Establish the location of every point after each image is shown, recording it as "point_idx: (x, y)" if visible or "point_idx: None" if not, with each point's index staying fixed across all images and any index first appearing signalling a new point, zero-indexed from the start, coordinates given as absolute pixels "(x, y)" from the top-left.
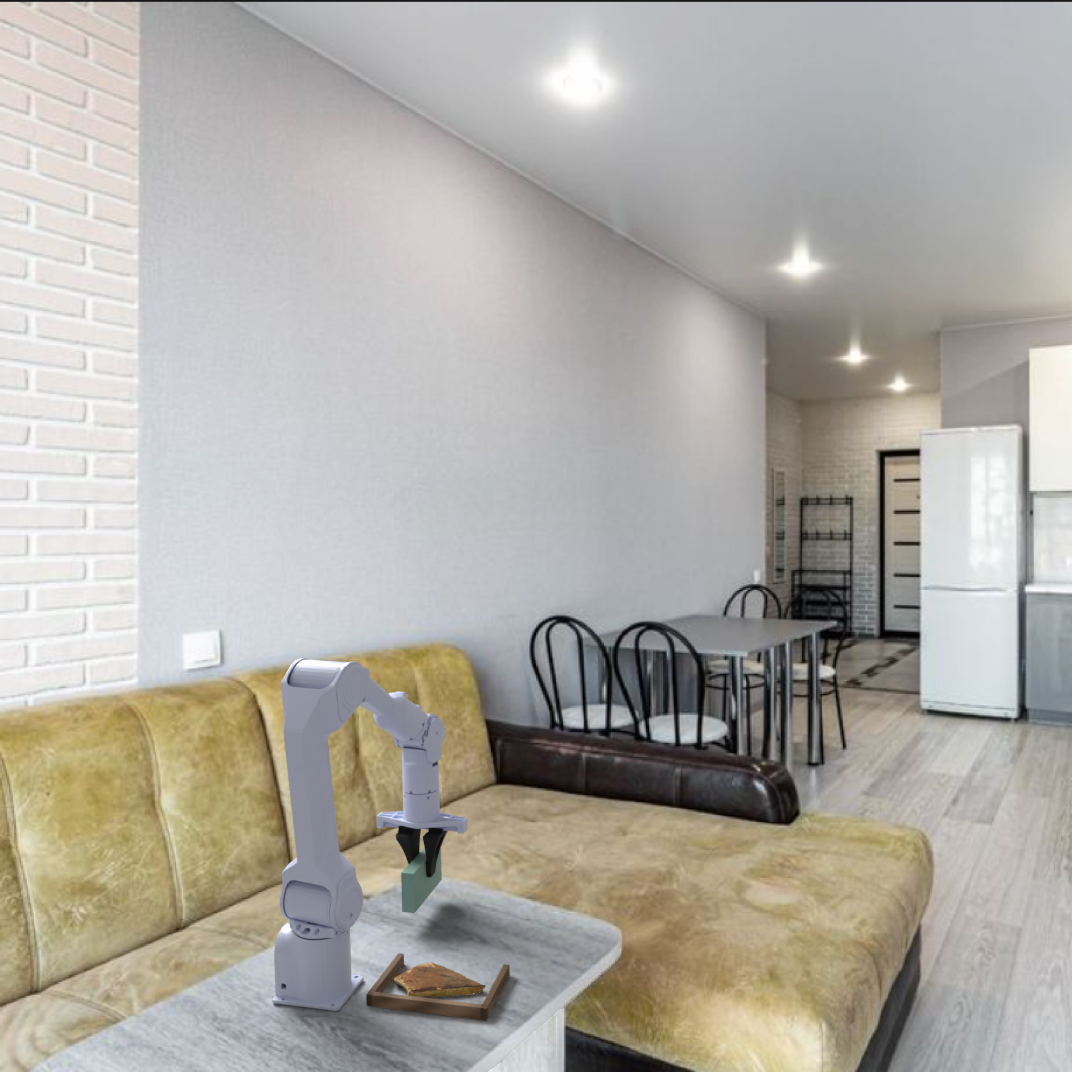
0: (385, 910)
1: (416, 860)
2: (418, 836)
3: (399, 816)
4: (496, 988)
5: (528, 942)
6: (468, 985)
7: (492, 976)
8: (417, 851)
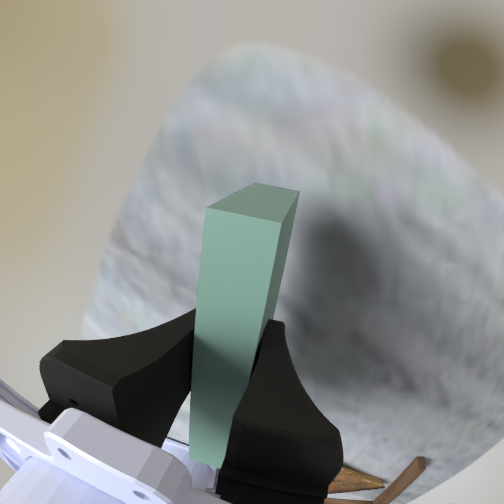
0: (166, 245)
1: (205, 403)
2: (152, 388)
3: (19, 459)
4: (395, 497)
5: (480, 384)
6: (363, 488)
7: (401, 459)
8: (183, 357)
